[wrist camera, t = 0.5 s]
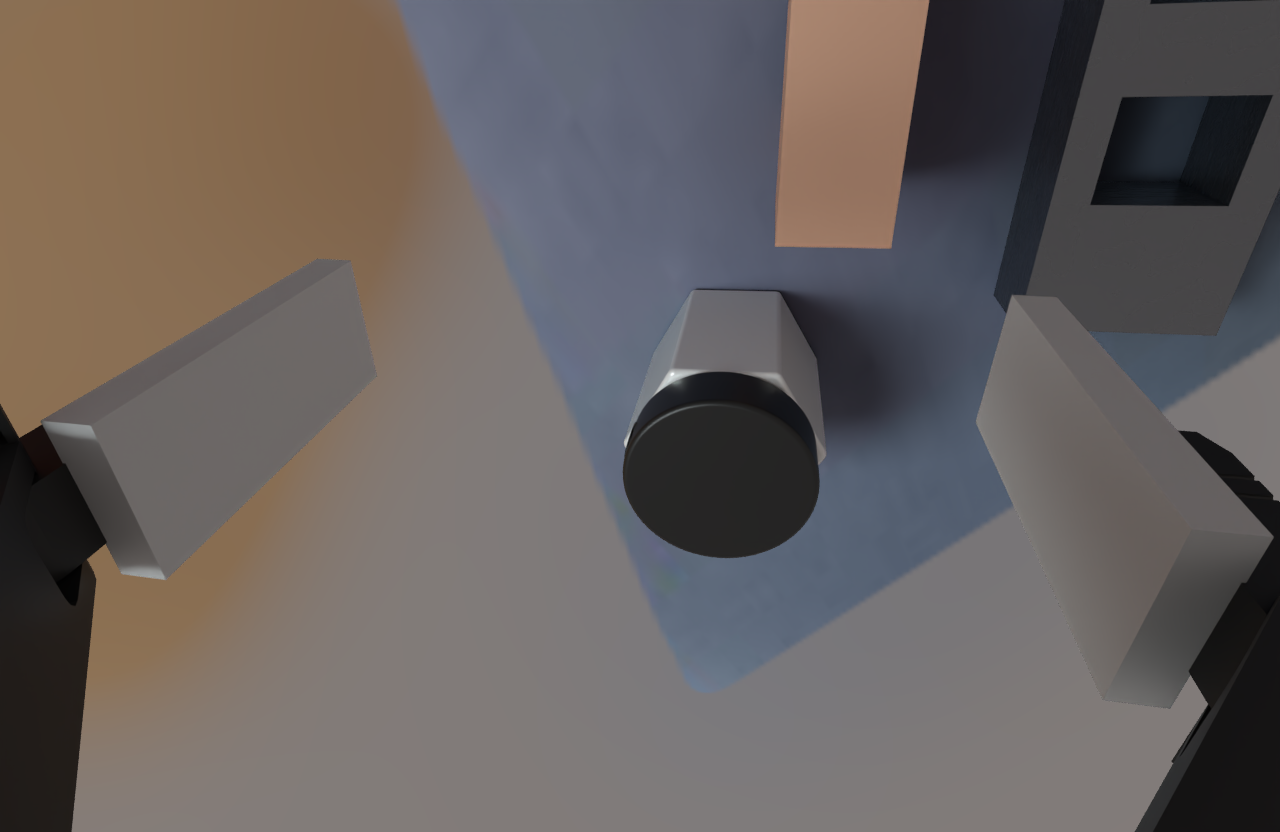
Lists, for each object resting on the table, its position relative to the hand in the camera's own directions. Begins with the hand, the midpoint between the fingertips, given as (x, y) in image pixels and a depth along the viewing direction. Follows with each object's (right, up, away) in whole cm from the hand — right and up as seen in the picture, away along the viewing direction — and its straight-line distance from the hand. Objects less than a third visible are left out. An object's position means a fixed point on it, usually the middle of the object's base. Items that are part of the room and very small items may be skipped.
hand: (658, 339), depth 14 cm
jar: (+5, +2, +25) cm, 25 cm away
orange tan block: (+8, +14, +16) cm, 23 cm away
